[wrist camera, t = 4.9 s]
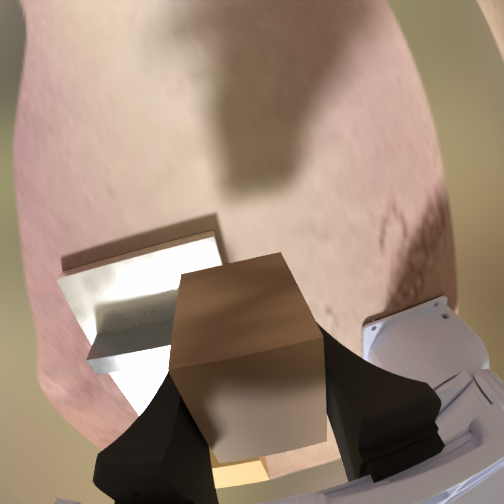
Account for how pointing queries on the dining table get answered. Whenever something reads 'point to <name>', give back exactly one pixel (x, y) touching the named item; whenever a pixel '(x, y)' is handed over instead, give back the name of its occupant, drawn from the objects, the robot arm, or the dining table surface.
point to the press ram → (238, 471)
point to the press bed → (135, 309)
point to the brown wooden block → (249, 359)
